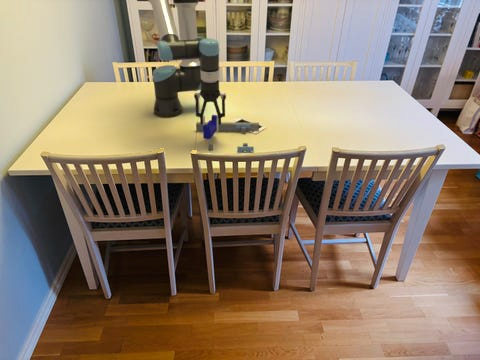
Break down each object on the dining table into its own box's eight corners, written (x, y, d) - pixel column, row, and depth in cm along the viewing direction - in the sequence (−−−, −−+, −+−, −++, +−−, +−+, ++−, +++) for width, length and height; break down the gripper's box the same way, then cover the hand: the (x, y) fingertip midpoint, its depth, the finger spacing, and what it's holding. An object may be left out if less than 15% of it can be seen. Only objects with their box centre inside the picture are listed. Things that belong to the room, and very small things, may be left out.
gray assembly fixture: (193, 152, 145) (192, 144, 143) (196, 129, 163) (196, 122, 160) (262, 152, 146) (263, 144, 144) (258, 130, 164) (258, 122, 162)
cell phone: (238, 119, 175) (238, 117, 175) (266, 129, 166) (266, 127, 166) (227, 124, 170) (227, 122, 169) (255, 135, 160) (255, 133, 160)
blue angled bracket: (209, 126, 156) (209, 114, 153) (219, 127, 155) (219, 115, 152) (200, 137, 147) (199, 125, 143) (209, 139, 146) (209, 127, 142)
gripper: (186, 82, 134) (189, 134, 148) (232, 83, 135) (231, 134, 149) (188, 76, 140) (191, 126, 154) (232, 77, 141) (231, 126, 155)
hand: (210, 130), depth 151 cm, fingers closed on blue angled bracket, 5 cm apart
